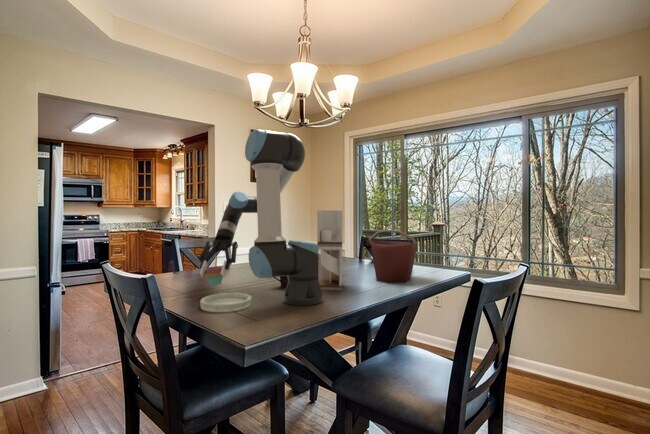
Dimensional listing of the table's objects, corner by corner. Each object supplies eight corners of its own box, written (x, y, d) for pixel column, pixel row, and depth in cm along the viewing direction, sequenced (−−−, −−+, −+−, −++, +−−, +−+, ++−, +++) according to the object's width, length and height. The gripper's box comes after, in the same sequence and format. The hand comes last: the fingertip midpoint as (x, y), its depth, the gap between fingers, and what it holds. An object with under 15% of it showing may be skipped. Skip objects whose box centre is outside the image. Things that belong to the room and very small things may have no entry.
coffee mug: (298, 284, 166) (298, 263, 166) (295, 289, 157) (295, 266, 157) (274, 284, 167) (274, 263, 167) (270, 288, 158) (269, 266, 158)
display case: (319, 284, 167) (319, 210, 166) (342, 284, 166) (342, 210, 165) (317, 289, 156) (317, 210, 155) (341, 290, 155) (341, 210, 154)
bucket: (359, 279, 180) (360, 230, 179) (386, 273, 195) (386, 228, 194) (400, 287, 162) (400, 232, 161) (426, 280, 177) (426, 230, 176)
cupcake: (207, 282, 150) (207, 254, 150) (227, 281, 151) (227, 253, 151) (202, 286, 142) (201, 256, 142) (223, 285, 143) (223, 256, 143)
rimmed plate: (260, 301, 136) (260, 295, 136) (232, 314, 119) (232, 307, 119) (221, 297, 142) (221, 291, 142) (189, 309, 125) (189, 302, 125)
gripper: (250, 238, 161) (239, 281, 145) (206, 238, 163) (190, 280, 147) (246, 227, 155) (234, 270, 140) (200, 227, 157) (183, 269, 141)
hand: (211, 275), depth 143 cm, fingers closed on cupcake, 8 cm apart
